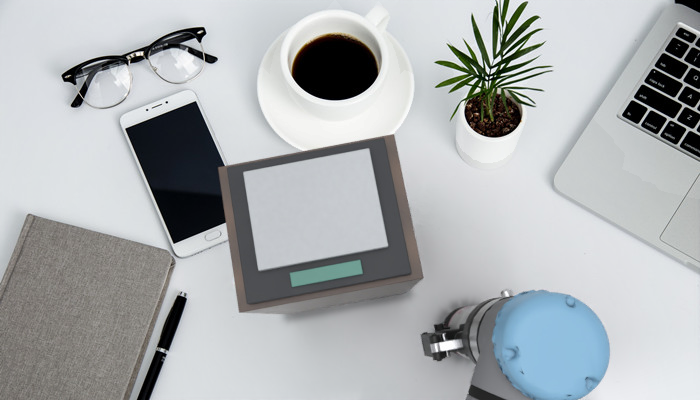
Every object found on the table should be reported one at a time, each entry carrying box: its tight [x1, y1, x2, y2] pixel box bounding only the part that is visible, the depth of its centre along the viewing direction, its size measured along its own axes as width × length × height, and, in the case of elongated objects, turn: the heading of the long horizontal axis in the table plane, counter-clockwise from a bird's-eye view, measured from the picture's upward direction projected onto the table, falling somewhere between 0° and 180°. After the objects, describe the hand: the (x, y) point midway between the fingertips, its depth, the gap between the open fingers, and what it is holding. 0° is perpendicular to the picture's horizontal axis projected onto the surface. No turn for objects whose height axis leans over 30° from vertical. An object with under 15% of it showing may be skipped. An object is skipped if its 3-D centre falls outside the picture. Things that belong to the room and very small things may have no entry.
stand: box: [217, 133, 425, 315], centre depth 69 cm, size 13×16×32 cm
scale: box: [227, 138, 412, 305], centre depth 52 cm, size 12×14×2 cm
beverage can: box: [443, 304, 479, 362], centre depth 75 cm, size 6×6×15 cm
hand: (471, 332), depth 78 cm, fingers closed on beverage can, 6 cm apart
